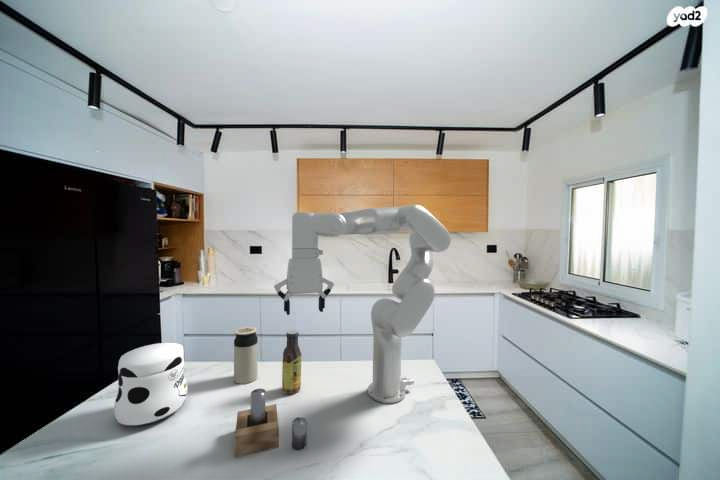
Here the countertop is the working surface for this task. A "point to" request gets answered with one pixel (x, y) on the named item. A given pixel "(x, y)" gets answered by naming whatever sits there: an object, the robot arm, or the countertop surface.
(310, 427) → the countertop surface
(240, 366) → the travel mug
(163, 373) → the milk container
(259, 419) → the long pin
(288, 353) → the sauce bottle
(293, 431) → the short pin
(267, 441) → the hole block
